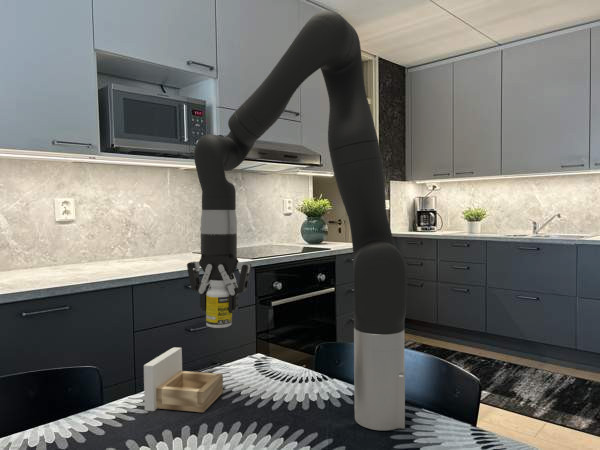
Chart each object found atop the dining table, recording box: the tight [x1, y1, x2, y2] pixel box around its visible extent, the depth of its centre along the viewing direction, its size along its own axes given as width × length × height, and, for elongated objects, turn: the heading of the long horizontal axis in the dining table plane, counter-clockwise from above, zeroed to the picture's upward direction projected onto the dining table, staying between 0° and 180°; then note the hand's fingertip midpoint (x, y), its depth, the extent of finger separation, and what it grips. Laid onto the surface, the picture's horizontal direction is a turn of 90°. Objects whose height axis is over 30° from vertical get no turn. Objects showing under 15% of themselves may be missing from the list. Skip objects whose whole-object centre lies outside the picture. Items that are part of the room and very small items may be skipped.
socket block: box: [156, 370, 224, 413], centre depth 95 cm, size 10×10×4 cm
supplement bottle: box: [205, 279, 233, 329], centre depth 97 cm, size 5×5×10 cm
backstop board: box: [143, 347, 183, 412], centre depth 96 cm, size 2×12×9 cm, turn 167°
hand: (218, 311), depth 97 cm, fingers closed on supplement bottle, 5 cm apart
